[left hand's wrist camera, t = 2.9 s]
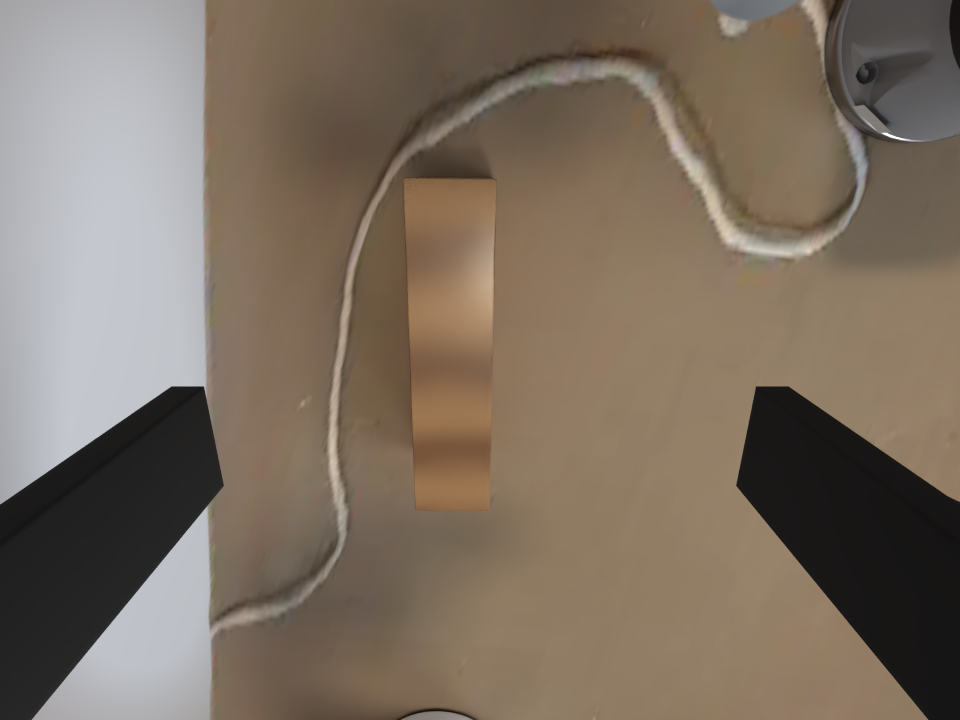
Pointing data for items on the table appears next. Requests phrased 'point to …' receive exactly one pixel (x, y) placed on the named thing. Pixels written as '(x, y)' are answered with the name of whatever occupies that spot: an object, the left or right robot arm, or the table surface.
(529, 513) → the table surface
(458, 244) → the bar
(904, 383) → the table surface
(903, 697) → the table surface
